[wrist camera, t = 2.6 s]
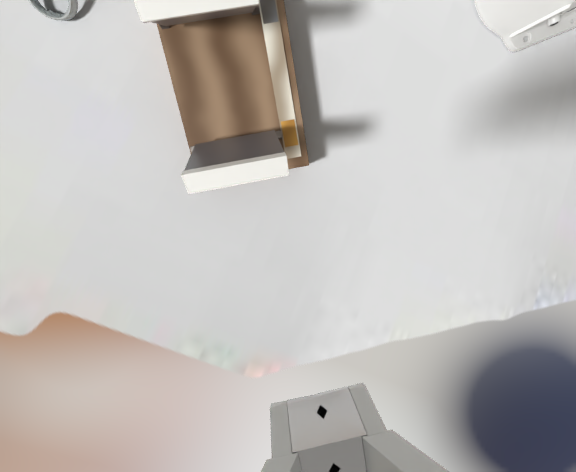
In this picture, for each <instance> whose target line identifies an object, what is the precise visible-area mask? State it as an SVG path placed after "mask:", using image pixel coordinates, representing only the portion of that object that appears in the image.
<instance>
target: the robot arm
mask: <svg viewBox="0 0 576 472" xmlns="http://www.w3.org/2000/svg"><path fill="white" fill-rule="evenodd" d="M475 5H476V9H477V12H478V14H479V16H480V18H481V20H482V22H483V23H484V24H485V26H486V27H487V28H488V29H489V30H491V31H492V32H494V33H495V34H497V35H498V36H499V37H501V38H502V40H503V42H504V44H505V46H506V47H507V49H508V50H509V51H510V52H517V51H520V50H522V49H525V48H527V47H530V46H532V45H535V44H537V43H540V42H542V41H545V40H547V39H549V38H552V37H554V36H557V35H559V34H562V33H564V32H567V31H569V30H572V29H574V28H576V0H475ZM523 39H524V41H523ZM270 418H271V448H272V459H268V460H267V461H266V462H265V464H264V467H263V469H262V471H261V472H449V471H448V470H446V469H445V468H443V467H442V466H441V465H440V464H438V463H437V462H435V461H434V460H433V459H431V458H430V457H429V456H427V455H426V454H425V453H423V452H422V451H420V450H419V449H417V448H416V447H415V446H413V445H412V444H411V443H409V442H408V441H407V440H405V439H404V438H403V437H401V436H400V435H398V434H397V433H396V432H395V431H393V430H388V431H387V430H386V427H385V425H384V424H383V421H382V419H381V417H380V415H379V413H378V411H377V409H376V407H375V405H374V403H373V401H372V398H371V397H370V394H369V392H368V390H367V388H366V386H365V385H364V384H363V383H360V384H356V385H351V386H348V387H343V388H339V389H335V390H331V391H327V392H322V393H318V394H315V395H310V396H305V397H300V398H295V399H290V400H287V401H283V402H277V403H272V404H271V408H270Z"/></svg>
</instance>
